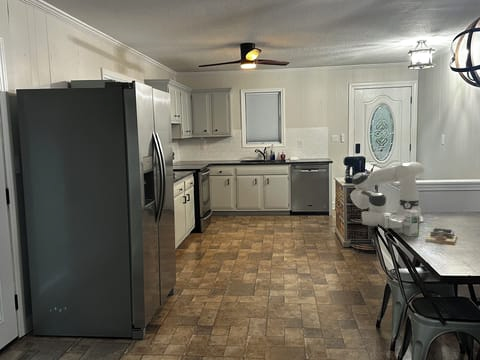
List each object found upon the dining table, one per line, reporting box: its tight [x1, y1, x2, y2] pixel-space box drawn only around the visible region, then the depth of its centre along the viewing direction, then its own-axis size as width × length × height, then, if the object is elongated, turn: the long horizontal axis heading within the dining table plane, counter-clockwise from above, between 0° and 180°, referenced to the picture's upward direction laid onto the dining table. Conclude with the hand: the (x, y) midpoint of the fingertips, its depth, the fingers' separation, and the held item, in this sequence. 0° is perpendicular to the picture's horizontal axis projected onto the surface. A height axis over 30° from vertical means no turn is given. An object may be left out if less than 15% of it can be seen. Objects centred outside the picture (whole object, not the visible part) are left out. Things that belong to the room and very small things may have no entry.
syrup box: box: [403, 210, 420, 237], centre depth 242 cm, size 6×6×14 cm
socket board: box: [425, 227, 458, 245], centre depth 233 cm, size 18×14×6 cm
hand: (413, 222), depth 241 cm, fingers closed on syrup box, 8 cm apart
